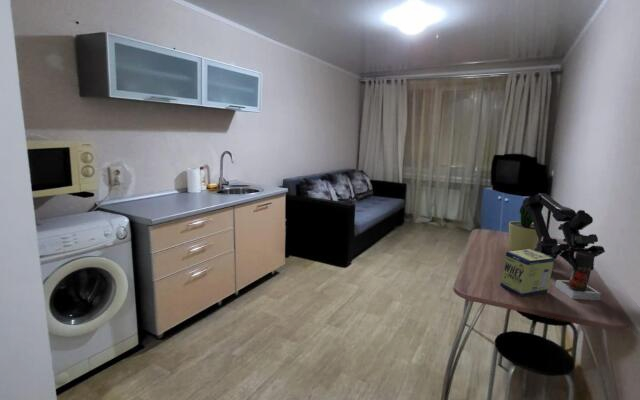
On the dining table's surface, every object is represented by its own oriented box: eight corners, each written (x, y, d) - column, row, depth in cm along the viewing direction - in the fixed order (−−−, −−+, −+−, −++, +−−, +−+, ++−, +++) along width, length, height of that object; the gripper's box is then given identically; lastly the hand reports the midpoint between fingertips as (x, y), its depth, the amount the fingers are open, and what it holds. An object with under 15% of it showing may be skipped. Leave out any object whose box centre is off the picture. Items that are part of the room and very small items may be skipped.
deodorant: (565, 283, 147) (573, 250, 143) (578, 283, 147) (586, 250, 144) (576, 290, 141) (584, 256, 137) (589, 290, 141) (598, 256, 138)
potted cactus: (509, 243, 204) (518, 194, 197) (539, 251, 193) (549, 199, 187) (500, 249, 193) (510, 197, 186) (531, 257, 182) (542, 202, 176)
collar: (555, 286, 150) (556, 279, 149) (580, 287, 150) (581, 281, 149) (572, 298, 139) (573, 291, 139) (599, 300, 139) (600, 293, 138)
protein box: (499, 285, 148) (505, 251, 144) (525, 281, 153) (532, 248, 150) (521, 297, 138) (528, 261, 135) (548, 292, 144) (555, 257, 140)
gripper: (561, 225, 142) (573, 260, 134) (607, 227, 142) (622, 263, 134) (546, 236, 152) (556, 270, 144) (588, 239, 151) (602, 273, 143)
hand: (584, 269), depth 141 cm, fingers closed on deodorant, 6 cm apart
